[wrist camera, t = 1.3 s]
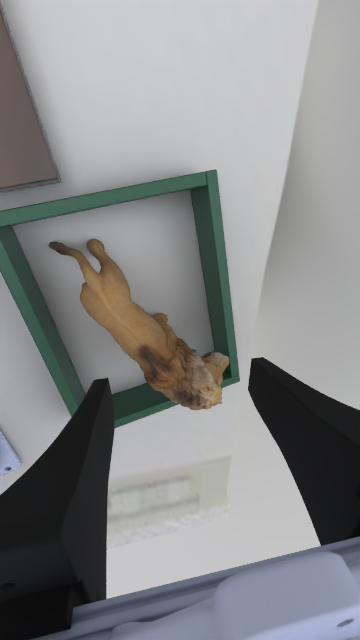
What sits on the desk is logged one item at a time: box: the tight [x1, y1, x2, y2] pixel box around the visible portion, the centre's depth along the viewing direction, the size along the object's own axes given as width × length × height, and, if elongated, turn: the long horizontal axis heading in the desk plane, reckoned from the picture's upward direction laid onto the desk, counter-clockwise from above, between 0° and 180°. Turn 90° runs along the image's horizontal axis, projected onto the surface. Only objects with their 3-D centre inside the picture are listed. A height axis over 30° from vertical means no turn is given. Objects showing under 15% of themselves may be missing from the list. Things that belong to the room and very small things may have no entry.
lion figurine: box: [49, 239, 229, 410], centre depth 18 cm, size 15×5×9 cm, turn 44°
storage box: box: [0, 170, 240, 428], centre depth 21 cm, size 15×18×4 cm
